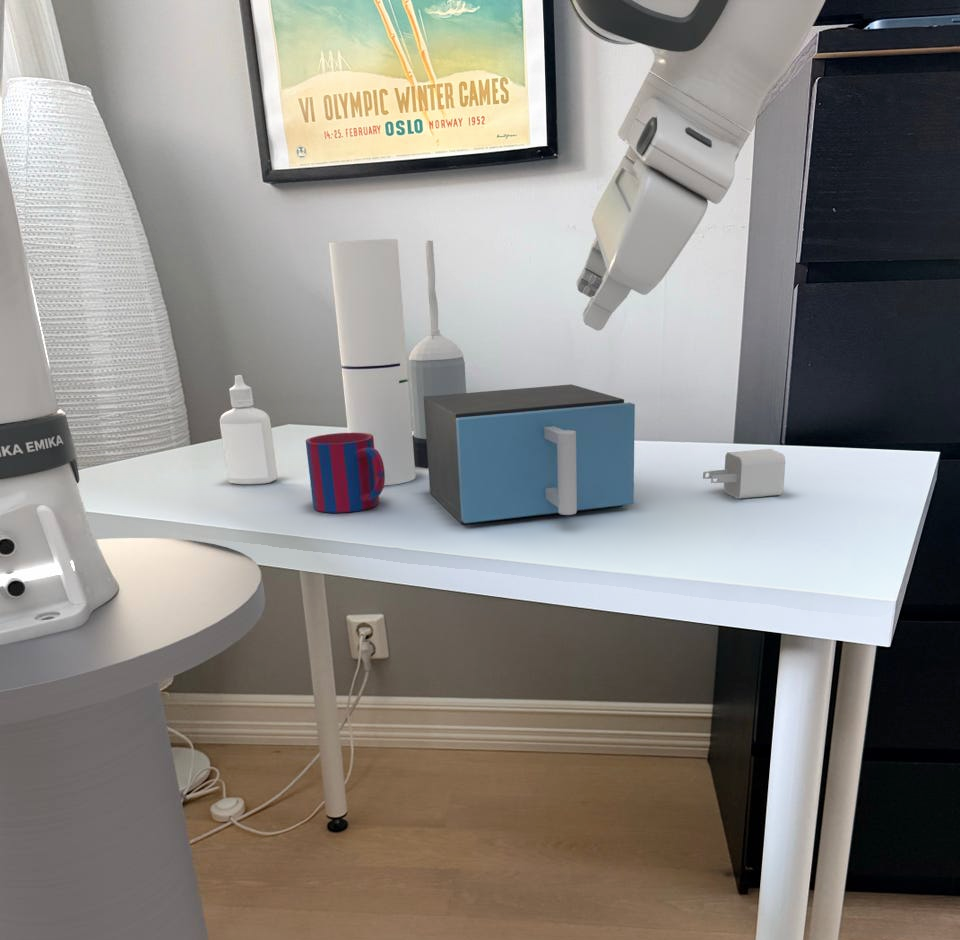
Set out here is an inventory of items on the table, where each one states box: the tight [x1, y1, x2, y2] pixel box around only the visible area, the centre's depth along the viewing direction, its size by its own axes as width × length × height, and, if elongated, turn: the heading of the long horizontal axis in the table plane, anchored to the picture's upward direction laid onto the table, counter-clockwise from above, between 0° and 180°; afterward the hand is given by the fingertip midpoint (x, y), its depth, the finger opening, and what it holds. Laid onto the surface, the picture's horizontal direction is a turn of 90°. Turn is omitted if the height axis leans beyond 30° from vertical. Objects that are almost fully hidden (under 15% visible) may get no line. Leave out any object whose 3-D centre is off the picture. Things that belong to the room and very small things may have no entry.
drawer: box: [456, 402, 636, 524], centre depth 87 cm, size 19×16×9 cm
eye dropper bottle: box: [219, 374, 278, 485], centre depth 106 cm, size 4×6×12 cm
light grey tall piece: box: [407, 240, 467, 468], centre depth 110 cm, size 8×8×25 cm
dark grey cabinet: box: [424, 384, 625, 525], centre depth 92 cm, size 14×16×10 cm
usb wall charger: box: [702, 448, 786, 500], centre depth 90 cm, size 4×7×4 cm, turn 99°
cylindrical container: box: [328, 238, 416, 486], centre depth 101 cm, size 7×7×25 cm
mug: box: [305, 432, 385, 514], centre depth 92 cm, size 7×10×7 cm
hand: (586, 307), depth 78 cm, fingers open, 8 cm apart
